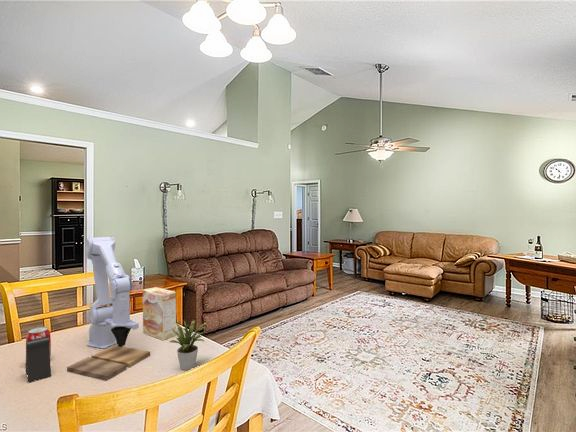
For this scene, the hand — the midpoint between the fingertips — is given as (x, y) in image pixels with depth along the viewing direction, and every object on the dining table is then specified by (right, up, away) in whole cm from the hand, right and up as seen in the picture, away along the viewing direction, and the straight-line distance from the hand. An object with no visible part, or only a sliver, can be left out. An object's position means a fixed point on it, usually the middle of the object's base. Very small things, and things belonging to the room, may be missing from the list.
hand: (121, 345), depth 122 cm
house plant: (+28, -5, -8) cm, 29 cm away
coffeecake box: (+5, -4, +22) cm, 23 cm away
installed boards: (-4, -5, -10) cm, 11 cm away
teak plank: (0, -4, 0) cm, 4 cm away
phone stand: (-22, -5, -13) cm, 25 cm away
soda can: (-28, -5, -4) cm, 29 cm away
